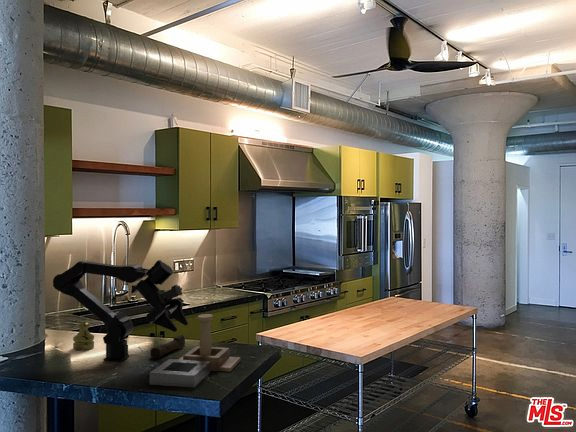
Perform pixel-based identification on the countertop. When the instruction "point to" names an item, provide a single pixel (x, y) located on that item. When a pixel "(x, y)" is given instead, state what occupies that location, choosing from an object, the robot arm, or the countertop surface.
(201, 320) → the handle
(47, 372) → the countertop surface
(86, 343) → the olive green tiered piece
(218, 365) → the tan piece
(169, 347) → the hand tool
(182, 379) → the socket block
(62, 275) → the robot arm
